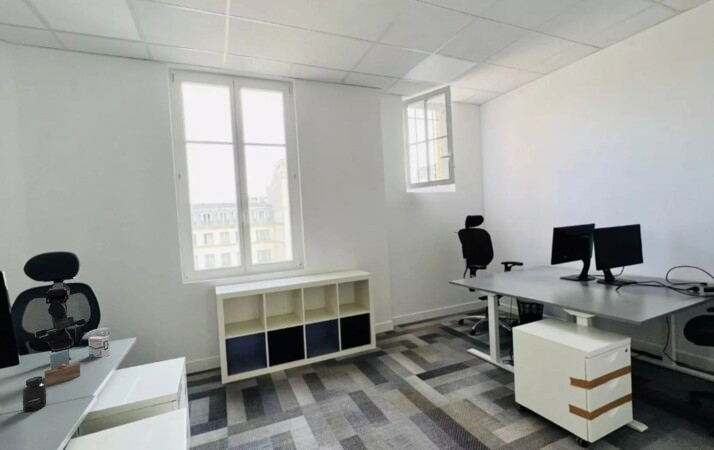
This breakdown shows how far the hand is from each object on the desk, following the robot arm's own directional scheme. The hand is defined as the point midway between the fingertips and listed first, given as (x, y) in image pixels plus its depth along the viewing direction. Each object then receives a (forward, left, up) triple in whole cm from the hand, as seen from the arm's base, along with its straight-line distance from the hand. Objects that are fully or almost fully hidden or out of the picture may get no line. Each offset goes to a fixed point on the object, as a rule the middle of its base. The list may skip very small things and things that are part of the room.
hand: (64, 344), depth 160 cm
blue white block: (+2, -2, -14) cm, 14 cm away
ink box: (-13, +16, -15) cm, 25 cm away
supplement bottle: (+30, -13, -15) cm, 36 cm away
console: (+5, -2, -15) cm, 16 cm away
